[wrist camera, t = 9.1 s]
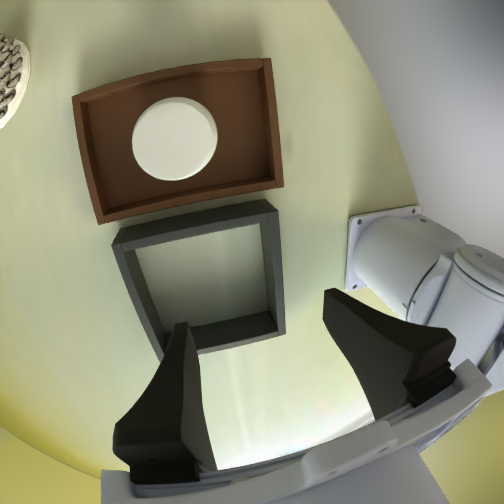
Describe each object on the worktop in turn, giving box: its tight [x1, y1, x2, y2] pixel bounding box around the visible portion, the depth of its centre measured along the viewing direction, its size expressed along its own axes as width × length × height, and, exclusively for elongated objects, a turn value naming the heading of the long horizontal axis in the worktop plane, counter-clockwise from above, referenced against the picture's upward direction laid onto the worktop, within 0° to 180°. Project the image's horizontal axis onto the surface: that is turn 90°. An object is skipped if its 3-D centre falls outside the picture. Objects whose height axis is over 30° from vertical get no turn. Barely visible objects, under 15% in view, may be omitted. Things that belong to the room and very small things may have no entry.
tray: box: [72, 58, 284, 225], centre depth 16 cm, size 13×9×2 cm
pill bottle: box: [132, 97, 217, 180], centre depth 14 cm, size 4×4×8 cm
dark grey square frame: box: [111, 199, 286, 362], centre depth 21 cm, size 11×11×3 cm
